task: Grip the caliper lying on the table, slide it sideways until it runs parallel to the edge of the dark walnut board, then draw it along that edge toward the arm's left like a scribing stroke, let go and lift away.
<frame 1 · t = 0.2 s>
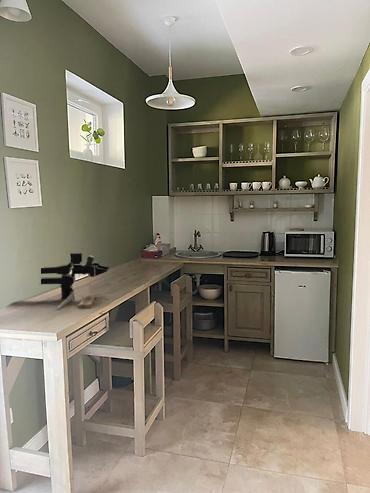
hand: (108, 269, 236), 16 cm above the countertop, tool horizontal, fingers open, 9 cm apart
caliper: (65, 306, 215), on the countertop
walnut board: (87, 302, 220), on the countertop
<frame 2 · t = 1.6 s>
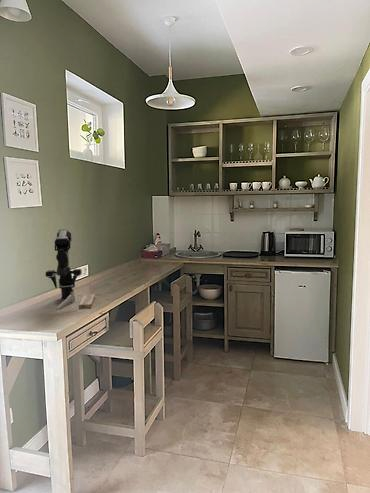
hand: (64, 287, 214), 10 cm above the countertop, tool pointing down, fingers open, 9 cm apart
nothing on the countertop moved.
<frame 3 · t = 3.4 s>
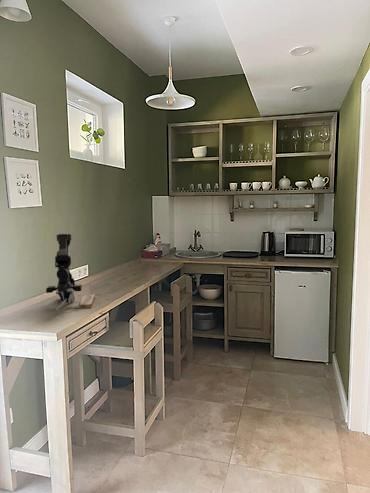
hand: (65, 303, 215), 1 cm above the countertop, tool pointing down, fingers closed on caliper, 2 cm apart
caliper: (65, 306, 215), on the countertop, touching gripper
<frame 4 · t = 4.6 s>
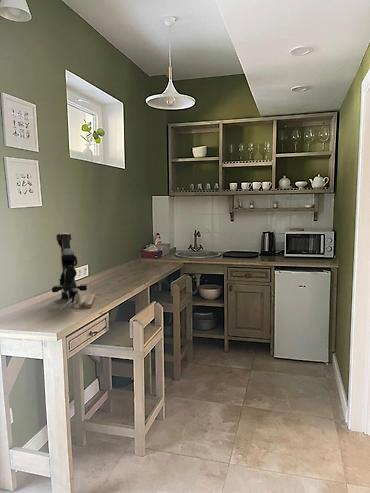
hand: (70, 303, 215), 1 cm above the countertop, tool pointing down, fingers closed on caliper, 2 cm apart
caliper: (69, 306, 215), on the countertop, touching gripper
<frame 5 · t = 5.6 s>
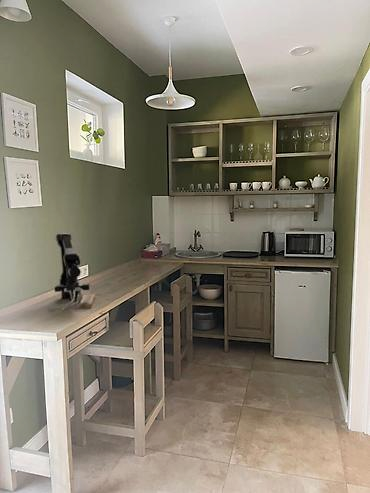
hand: (73, 302, 216), 1 cm above the countertop, tool pointing down, fingers closed on caliper, 2 cm apart
caliper: (72, 306, 215), on the countertop, touching gripper
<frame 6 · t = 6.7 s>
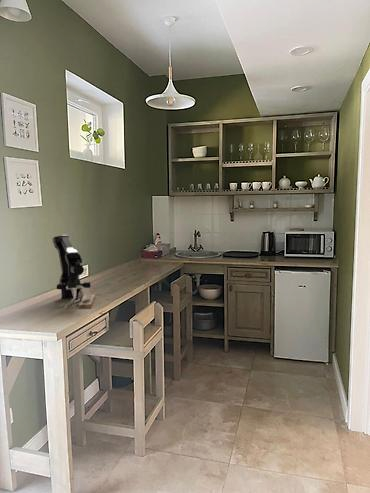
hand: (75, 300, 221), 1 cm above the countertop, tool pointing down, fingers closed on caliper, 2 cm apart
caliper: (74, 304, 220), on the countertop, touching gripper
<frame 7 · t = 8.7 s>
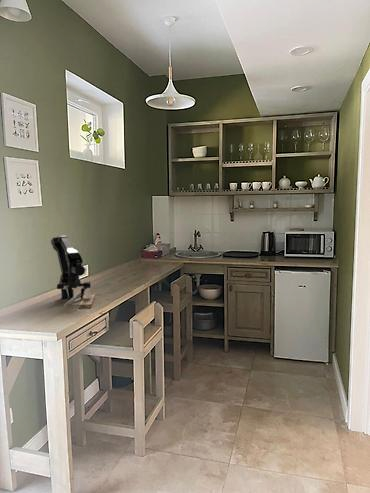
hand: (74, 299, 224), 1 cm above the countertop, tool pointing down, fingers open, 7 cm apart
caliper: (74, 302, 223), on the countertop
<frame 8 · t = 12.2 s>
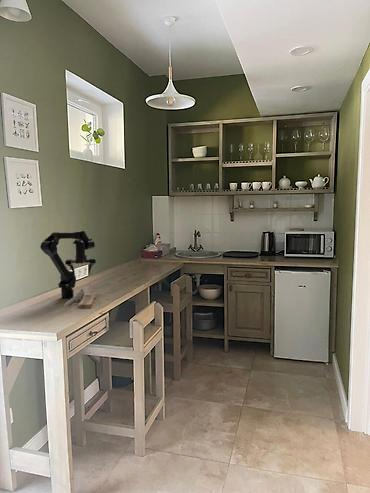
hand: (81, 274, 245), 12 cm above the countertop, tool pointing down, fingers open, 9 cm apart
nothing on the countertop moved.
at the end: caliper 1.4 cm from the target spot, on the countertop; caliper touching countertop; the gripper is holding nothing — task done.
